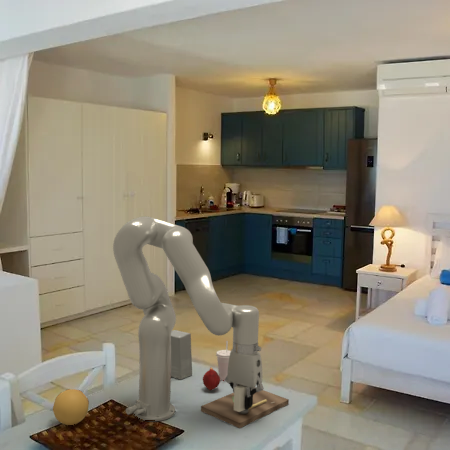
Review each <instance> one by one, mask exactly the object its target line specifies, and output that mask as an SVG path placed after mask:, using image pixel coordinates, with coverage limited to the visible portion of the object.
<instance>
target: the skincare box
mask: <svg viewBox="0 0 450 450" xmlns="http://www.w3.org/2000/svg"><path fill="white" fill-rule="evenodd" d="M191 334H192V333H191V332H187V331H182V330H181V331H180V330H177V329H173V330H172V332H171V378H174V379H178V380H183V379H185V378H187V377H190V376H193V365H192V364H193V363H192V361H193V360H192V359H193V358H192V335H191Z"/></svg>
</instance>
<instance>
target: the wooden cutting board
mask: <svg viewBox="0 0 450 450" xmlns="http://www.w3.org/2000/svg"><path fill="white" fill-rule="evenodd" d="M256 387H257V386H255V388H256ZM265 399H266V400H267V401H266V402H264V403H262V404H260V405H257V406H255V407H253V408H250V409H248V413H247V414H240V413H238V411H235V410H234V393H233V392H232V393H230V394H229V393H228V394H226V395H224V396H221V397H220V398H217V399H215V400H213V401H210V402H207V403H206V404H202V405H201V406H200V412H202V413H205V414H206V415H209V416H210V417H213V418H215V419H217V420H220V421H222V422H224V421H225V422H224V423H226V422H227V423H226V424H229V425H231V426H233V427H235V428H238V429H242V428H244V427H246V426H247V425H249V424H251V423H253V422H256V421H258V420H259V419H262V418H264V417H266V416H268V415H270V414H271V413H274V412H276V411H278V410H280V409H282V408H284V407H287V406H288V405H290V403H289V401H290V399H288V398H285V397H283V396H281V395H277V394H275V393H272V392H270V391H266V390H264V389H263V390H262V391H259V392H256V393H255V394H254V395H253V404H256V403H258V402H260V401H263V400H265Z"/></svg>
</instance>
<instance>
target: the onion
mask: <svg viewBox="0 0 450 450" xmlns="http://www.w3.org/2000/svg"><path fill="white" fill-rule="evenodd" d="M202 383H203V386H204V387H205V388H206V389H207V390H209V391H213V390H215V389H216V388H218V387H219V385H220V383H221V380H220V377H219V372H218V371H216V370H214V369H213V367H210V368H209V370H207V371H206V372H205V373H204V375H203V377H202Z"/></svg>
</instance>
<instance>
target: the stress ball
mask: <svg viewBox="0 0 450 450" xmlns="http://www.w3.org/2000/svg"><path fill="white" fill-rule="evenodd" d="M89 405H90V402H89V399H88V397H87V396H86V395H85V394H84V392H83V391H81V390H79V389H74V388H67V389H65V390H64V391H62V392H60V393H58V395H57V396H56V397H55V399H54V401H53V406H52V412H53V415H54V417H55V419H56V420H57V421H58V422H59V423H61V424H62V425H65V426H68V425H73V426H75V425H77V424H78V423H80V422H81V421H83V420H84V419H85V417H86V416H87V414H88V412H89ZM74 424H75V425H74Z"/></svg>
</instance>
